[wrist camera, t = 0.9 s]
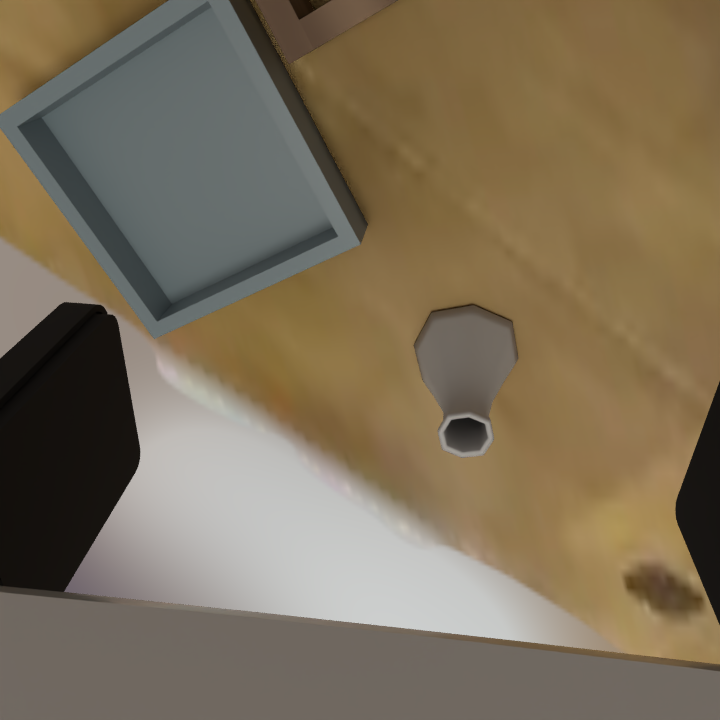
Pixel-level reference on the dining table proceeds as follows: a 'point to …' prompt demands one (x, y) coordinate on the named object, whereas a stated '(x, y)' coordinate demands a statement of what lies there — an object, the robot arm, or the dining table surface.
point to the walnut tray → (314, 21)
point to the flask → (465, 372)
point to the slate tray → (187, 162)
